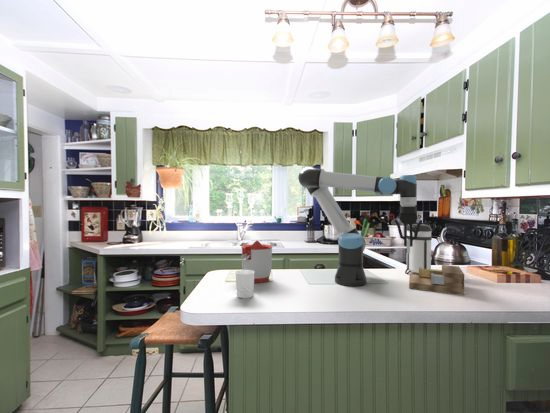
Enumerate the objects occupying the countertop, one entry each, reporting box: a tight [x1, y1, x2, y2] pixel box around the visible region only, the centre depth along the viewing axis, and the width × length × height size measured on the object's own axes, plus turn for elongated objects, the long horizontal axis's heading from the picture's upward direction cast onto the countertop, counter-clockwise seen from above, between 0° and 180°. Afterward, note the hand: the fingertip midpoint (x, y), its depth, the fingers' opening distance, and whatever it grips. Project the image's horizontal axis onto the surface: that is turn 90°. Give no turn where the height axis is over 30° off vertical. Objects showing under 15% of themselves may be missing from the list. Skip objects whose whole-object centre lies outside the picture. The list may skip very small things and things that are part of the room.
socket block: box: [408, 264, 465, 296], centre depth 130 cm, size 21×17×9 cm
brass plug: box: [418, 267, 443, 278], centre depth 135 cm, size 11×4×4 cm, turn 63°
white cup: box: [235, 269, 255, 299], centre depth 116 cm, size 8×8×10 cm
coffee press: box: [404, 223, 433, 275], centre depth 156 cm, size 17×16×30 cm
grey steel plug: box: [431, 273, 445, 285], centre depth 123 cm, size 11×4×4 cm, turn 63°
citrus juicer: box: [240, 240, 273, 284], centre depth 140 cm, size 16×17×20 cm
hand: (408, 252), depth 140 cm, fingers closed
